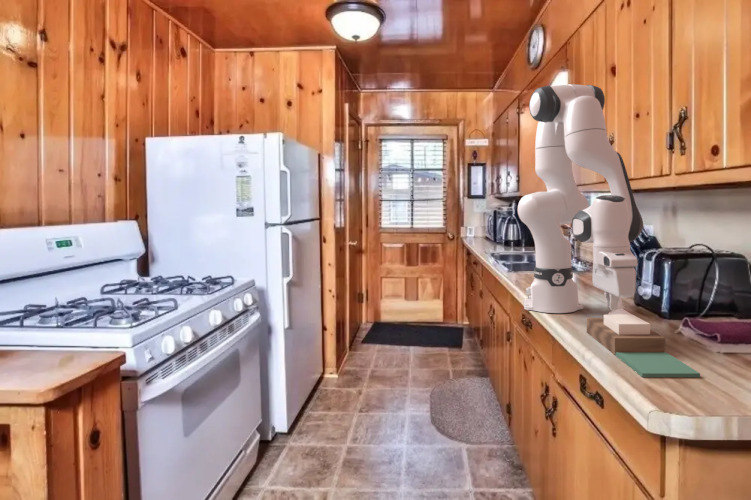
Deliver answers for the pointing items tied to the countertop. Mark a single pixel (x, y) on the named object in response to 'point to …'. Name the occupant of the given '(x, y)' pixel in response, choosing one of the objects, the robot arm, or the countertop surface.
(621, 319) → the cream block
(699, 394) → the countertop surface
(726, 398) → the countertop surface
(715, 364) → the countertop surface
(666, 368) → the mat
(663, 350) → the brown striped block
